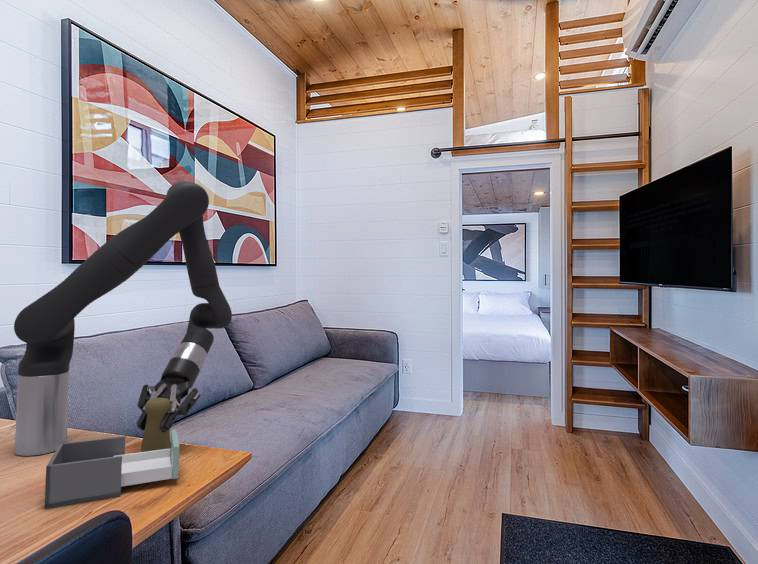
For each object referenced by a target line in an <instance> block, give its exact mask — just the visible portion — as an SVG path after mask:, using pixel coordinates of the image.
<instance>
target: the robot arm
mask: <svg viewBox="0 0 758 564" xmlns="http://www.w3.org/2000/svg"><path fill="white" fill-rule="evenodd" d="M209 205H210V197H209V195H208V192H207V191H206V189H204V188H203V187H202V186H201V185H199V184H197V183H195V182H192V181H187V180H186V181H185V180H184V181H182V180H181V181H176V182H174V183H173V184H172V185H170V187H169V188H168V190H167V192H166V196H165V198H163V200H162V201H161V202H159V204H158V205H157V206H156V207H155V208H154V209H153V210H152V211H151V212H150V213H148V214H147V215H146V216H144V217H143V218H141V219H140V220H137V221H136V222H134V223H132V224H131V225H129V226H127V227H126V228H124V229H122V230H120V231H119V232H118V233H117V234H115V235H113V236H112V237H111V238H109V239H108V240H107V241H106V242H105V243H104V244H102V245H101V246H100V247H99V248H97V249H96V250H95V251H94V252H93V253H92V254H91V255H90V256H89V257H88V258H86V259H85V260H84V261H82V263H80V264H79V266H78V267H76V268H75V269H74V270H73V271H72V272H71V273H70V274H69V275H68V276H67V277H66V278H65V279H64V280H62V281H61V282H60V283H59V284H58V285H56V286H55V287H53V288H52V289H50V290H49V291H48V292H46V293H45V294H43V295H42V296H41V297H39V298H38V299H35V301H33V302H31V303H30V304H29V305H27V306H25V307H24V308H23V309H22V310H21V311H20V312H19V313H18V314H17V315H16V318H15V320H14V323H13V331H14V334H15V335H16V337H17V339H18V340H20V341H21V342H24V343H25V344H26V347H25V351H24V355H23V356H22V358H21V360H20V361H19V363H18V368H17V370H18V371H17V393H16V414H15V415H16V416H15V432H14V433H15V434H14V437H15V438H14V454H15V455H17V456H21V457H23V456H26V457H27V456H28V457H29V456H38V455H45V454H49V453H53V452H55V451H56V449H57V448H58V446H59V444H60V443H67V442H68V425H69V423H68V420H69V380H70V379H69V378H70V364H71V361H72V358H73V353H74V341H75V330H76V328H75V327H76V323H75V318H76V317H77V316H79V314H80V313H81V312H82V311H83V310H84V309H85V308H86V307H87V306H89V305H90V304H92V303H93V302H95V301H97V300H98V299H99V298H101V297H103V296H105V295H106V294H108V293H110V292H111V291H113V290H114V289H116V288H117V287H119V286H121V285H122V284H123V283H124V282H126V281H128V280H129V279H130V278H131V277H133V275H134V274H135V273H137V272H139V270H140V269H141V268H142V267H143V266H145V265H146V264H147V263H148V262H149V261H150V260H151V259H152V258H153V257H154V256H155V255H156V254H157V253H158V252H159V251H160V250H161V249H162V248H163V247H164V246H165V245H166V244H167V243H168V242H169V241H170V240H171V239H172V238H173V237H174V236H176V235H177V234H178V235H179V237H180V242H181V245H182V250H183V253H184V259H185V260H184V261H185V265H186V269H187V275H188V279H189V285H190V288H191V289H190V290H191V292H192V294H193V296H195V297H196V298H201V299H203V300H205V301H206V302H202V303H198V304H196V305H195V306H194V307H193V308H192V309H191V311H190V314H189V318H188V324H187V327H186V328H187V329H186V332H185V335H184V336H183V338H182V339H181V342H180V344H179V345H178V347H177V348H176V349H175V351H174V352H173V354H172V356H171V358H170V359H169V361H168V363H167V365H166V367H165V368H164V370H163V372H162V374H161V377H160V380H159V381H158V382H157V383H156V384H155V385H150V386H149V385H148V384H144V385H142V388H141V392H140V395H139V398H138V400H137V401H138V402H137V405H136V406H137V408H138V409H139V410H140V412H141V414H140V416H139V418H138V419H137V421H136V427H137V428H138V429H139V431H144V430H145V425H146V419H147V413H146V412H145V405H146V402H147V401H148V400H150V399H153V398H167V399H169V400H170V403H171V407H170V409H169V412H168V413H167V414H166V416H165V418H164V420H163V422H162V424H161V426H160V429H161V431H162V432H167V431H168V430H169V431H170V430H171V429H172V426H173V424H174V422H175V421H176V418H178V417H179V416H183V417H185V416H187V415H188V413H189V412H190V411H191V409H192V408H193V407H194V406H195V404H196V403H197V401H198V400H199V399H200V398H201V393H200V390H198V389H197V388H196V387H194V388H193V386H194V385H195V382H196V380H197V378H198V377H199V375H200V372H201V370H202V369H203V366H204V363H205V361H206V358H207V356H208V354H209V352H210V350H211V348H212V345H213V343H214V340H215V338H214V334H213V333H212V331H210V329H216V330H217V329H225V328H227V327H228V326H229V325H230V324H231V321H232V317H233V313H232V308H231V306H230V303H229V302H228V300H227V298H226V296H225V294H224V292H223V290H222V288H221V285H220V284H219V283H220V282H219V277H218V272H217V267H216V264H215V261H214V260H215V259H214V257H213V254H212V250H211V248H210V245H209V242H208V238H207V235H206V230H205V226H204V225H205V224H204V215H205V213H206V212H207V210H208V208H209ZM183 399H184V400H183ZM182 400H183V401H182Z"/></svg>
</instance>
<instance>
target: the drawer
mask: <svg viewBox="0 0 758 564" xmlns="http://www.w3.org/2000/svg"><path fill="white" fill-rule="evenodd" d="M170 430H171V432H170V442H171V448H170V449H162V450H154V451H147V452H141V451H139V452H133V453H125V454H124V455H116V456H122V471H121V487H127V486H135V485H139V484H145V483H152V482H158V481H163V480H164V481H165V480H171V479H172V480H174V479H179V473H180V472H179V470H180V469H179V467H180V442H179V437H178V435H179V434H178V430H177V429H170ZM113 457H115V456H113Z"/></svg>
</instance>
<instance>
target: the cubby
mask: <svg viewBox="0 0 758 564" xmlns="http://www.w3.org/2000/svg"><path fill="white" fill-rule="evenodd" d="M124 454H126V435H123V436H121V435H120V436H113V437H105V438H95V439H88V440H85V439H84V440H77V441H71V442H69V441H67V442H66V443H60V444H59V446H58V448H57V449H56V451H54V453H53V455H52V457H50V459H49V461H48V463H47V465H46V467H45V468H46V469H45V487H44V490H45V491H44V510H46V509H54V508H59V507H66V506H71V505H78V504H82V503H88V502H95V501H99V500H108V499H112V498H118V497H121V493H122V487H123V486H122V487H121V471H122V456H116V455H124ZM113 456H115V457H113Z"/></svg>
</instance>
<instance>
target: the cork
mask: <svg viewBox="0 0 758 564" xmlns="http://www.w3.org/2000/svg"><path fill="white" fill-rule="evenodd" d="M170 407H171V403H170V400H169V399H167V398H153V399H150V400H148V401H147V402H146V405H145V412H146V413H147V419H146V425H145V430H143V437H142V441H141V446H140V452H147V451H154V450H162V449H170V450H171V432H170V429H169V430H168V431H167V432H162V431H161V429H160V426H161V424H162V422H163V420H164V418H165V416H166V414H167V413H169V412H170V411H169V409H170Z"/></svg>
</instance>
